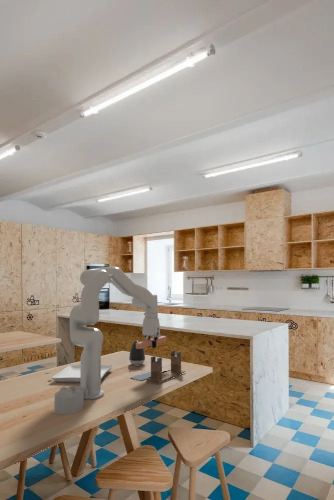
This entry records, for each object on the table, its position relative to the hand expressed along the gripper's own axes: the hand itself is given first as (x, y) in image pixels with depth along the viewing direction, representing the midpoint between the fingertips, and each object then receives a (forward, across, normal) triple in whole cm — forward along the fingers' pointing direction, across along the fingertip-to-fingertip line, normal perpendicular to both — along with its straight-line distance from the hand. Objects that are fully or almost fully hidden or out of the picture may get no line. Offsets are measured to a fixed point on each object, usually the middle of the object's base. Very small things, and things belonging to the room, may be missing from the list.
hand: (151, 347), depth 197 cm
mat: (+15, 0, -1) cm, 15 cm away
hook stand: (+15, +11, -1) cm, 19 cm away
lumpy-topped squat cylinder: (+14, +4, -60) cm, 62 cm away
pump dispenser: (+16, -21, +10) cm, 28 cm away
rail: (-1, 0, 0) cm, 1 cm away
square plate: (+15, -28, -27) cm, 42 cm away
